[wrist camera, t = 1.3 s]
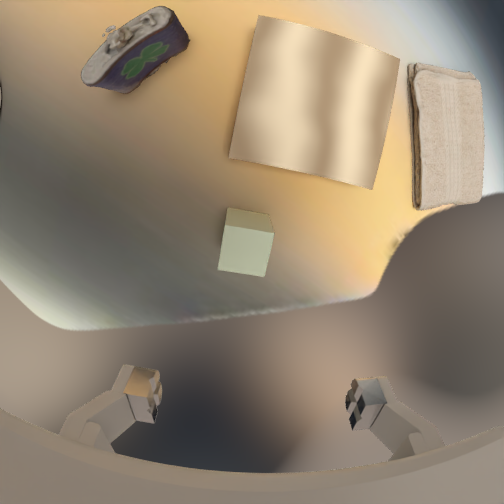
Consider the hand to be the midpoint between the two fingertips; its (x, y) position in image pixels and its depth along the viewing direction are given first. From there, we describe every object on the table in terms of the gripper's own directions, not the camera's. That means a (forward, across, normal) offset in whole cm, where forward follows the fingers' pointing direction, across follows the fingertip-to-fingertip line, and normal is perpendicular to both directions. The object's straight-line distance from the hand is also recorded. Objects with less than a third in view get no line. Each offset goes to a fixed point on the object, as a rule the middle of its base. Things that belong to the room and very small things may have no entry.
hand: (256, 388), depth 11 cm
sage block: (+23, +1, +1) cm, 23 cm away
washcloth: (+25, -23, -13) cm, 36 cm away
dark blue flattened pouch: (+23, +12, -17) cm, 31 cm away
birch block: (+24, -5, -13) cm, 28 cm away
